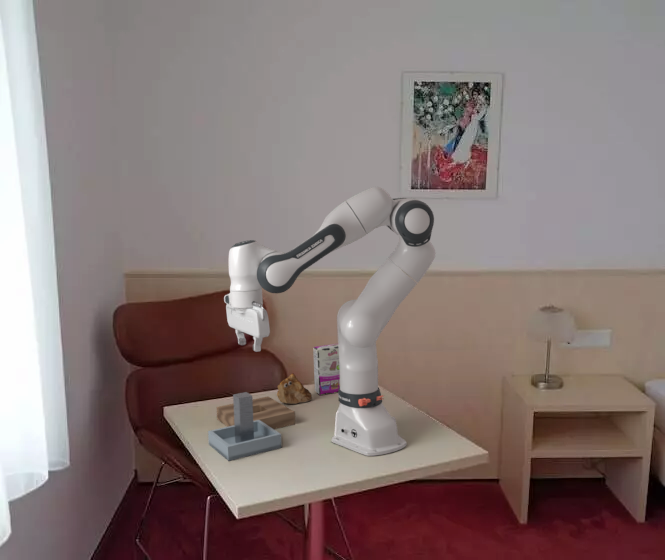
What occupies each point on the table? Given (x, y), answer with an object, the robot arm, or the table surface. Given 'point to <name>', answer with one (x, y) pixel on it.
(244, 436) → the pin
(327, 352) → the candy bar box
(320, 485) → the table surface
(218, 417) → the block
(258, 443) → the tray
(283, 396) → the decorative rock
